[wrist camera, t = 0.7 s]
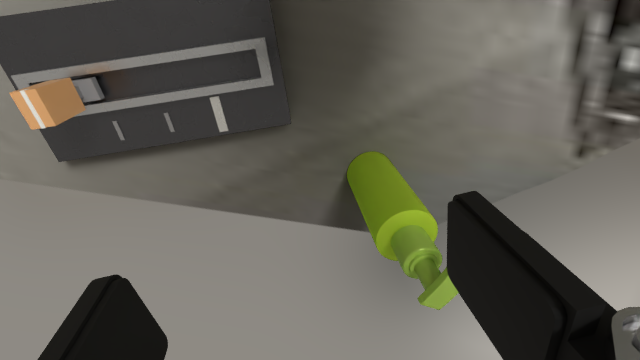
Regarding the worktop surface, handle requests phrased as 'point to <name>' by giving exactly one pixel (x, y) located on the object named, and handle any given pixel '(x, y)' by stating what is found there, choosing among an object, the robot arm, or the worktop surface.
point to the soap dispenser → (400, 225)
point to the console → (152, 70)
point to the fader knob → (55, 100)
